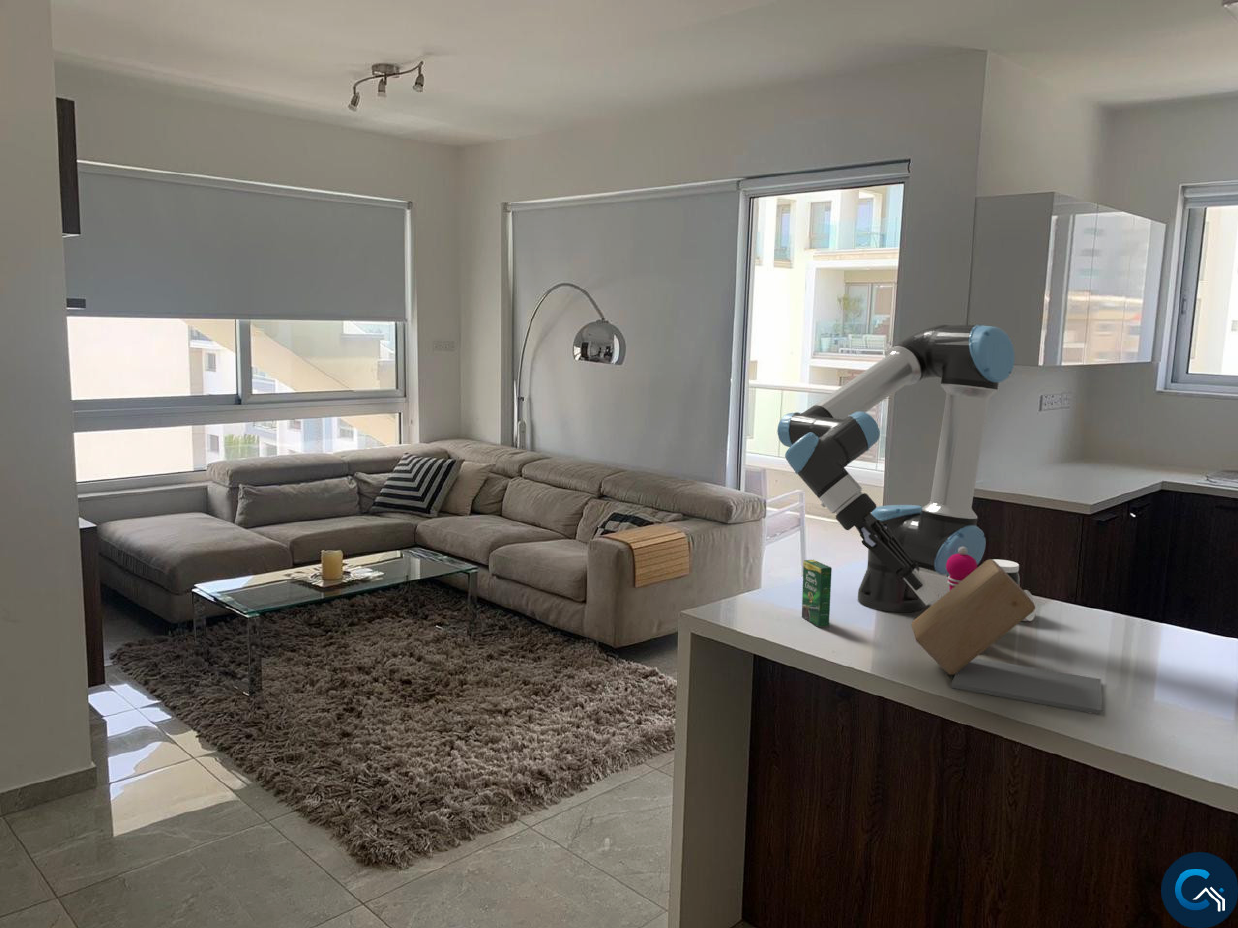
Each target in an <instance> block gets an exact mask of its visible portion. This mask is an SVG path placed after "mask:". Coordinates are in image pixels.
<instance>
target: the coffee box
mask: <svg viewBox="0 0 1238 928" xmlns="http://www.w3.org/2000/svg"><path fill="white" fill-rule="evenodd" d="M802 561H803V564H802V565H803V568H802V593H801V595H802V598H801V601H802V602H801V617H802V618H803V619H804V620H806V621H808V622H810V623H811V624H813V626H815V627H817V628H828V627H829V626H830V611H831V610H830V609H831V589H832V572H833V571H832V567H831V566H828V565H826V564H824V563H822V562H819V561H817V560H816V559H805V560H802Z"/></svg>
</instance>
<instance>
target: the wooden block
mask: <svg viewBox="0 0 1238 928" xmlns="http://www.w3.org/2000/svg"><path fill="white" fill-rule="evenodd" d="M1023 590H1024V589H1022V587H1021V586H1020V585H1018V584H1017V583H1016V582H1015V581H1014V580H1013V579H1012V578H1011V577H1010V576H1009V575H1008V574H1007V573H1006V572H1005V571H1004V570H1003V569H1002V568H1001V567H1000V566H999V565H998V564H997V563H996V562H995V561H994V559H986V560H984V561H983V562H982V564H980V565H979V566H977V569H975V570H974V571H973V572H972V573H971V574H969V575H968V576H967V577H966V578H965V579H963V580H962V581H961V582H960V583H958V584H957V585H956V586H955V587H954V588H952V589H951V590H950V589H949V591H947V593H945V594H944V595H942V596H941V597H940V598H939V599H937V600H936V601H935V602H934V603H933V604H931V606H929V607H928V608H927V609H926V610H924V611H923V612H922V613H921V614H920V615H918V616H917V617H915V619H913V620H912V622H911V623H910V624H911V628H912V632H913V634H914V635H913V636H914V638H915V640H916V643H918V645H920V647H921V648H922V649H923V650H924V651H925V652H926V653H927V654H928V655H929V656H930V657H931V658H932V659H933V660H934V661H935V663H937V664H938V666H940V667H941V669H943V670H944V671H945V673H946V674H947V675H950V676H953V675H955V674H956V673H957V672H958V671H959V670H960V669H962V668H963V667H964V666H965V665H967V664H968V663H969V662H970V661H972V660H973V659H974V658H977V657H978V656H979V655H981V654H982V653H983V652H985V650H986V649H988V648H989V647H991V646H992V645H993V644H994V643H996V642H997V641H998V640H999V639H1001V638H1002V637H1003V636H1005V635H1006V634H1007V633H1008V632H1009V631H1011V630H1012V629H1014V628H1015V627H1016V626H1017V625H1018V624H1020V623H1021V622H1023V621H1022V620H1023V619H1025V618H1026V617H1027V616H1028V615H1030V614H1031V613H1032V612H1033V611H1034V609H1035V610H1036V604H1035V605H1034V603H1033V602H1032V601H1031V599H1030V598H1029V597H1028V595H1027V594H1026V593H1025V592H1024V591H1023Z"/></svg>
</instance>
